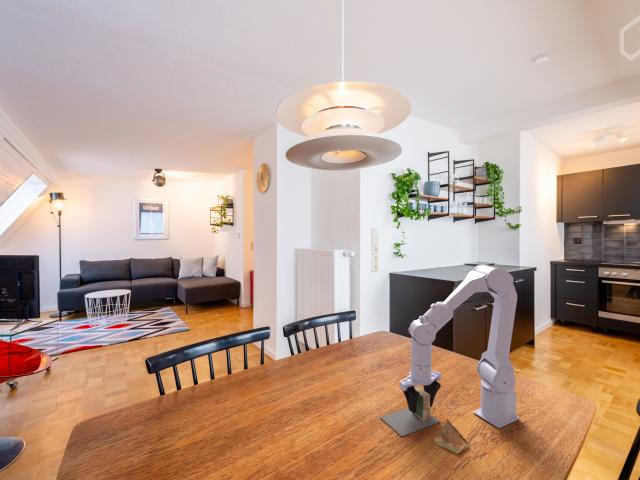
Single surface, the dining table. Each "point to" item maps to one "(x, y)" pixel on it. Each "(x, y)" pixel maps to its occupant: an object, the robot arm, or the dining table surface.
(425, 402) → the beech block
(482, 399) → the robot arm
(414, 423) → the felt mat
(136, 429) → the dining table surface
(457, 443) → the shard
